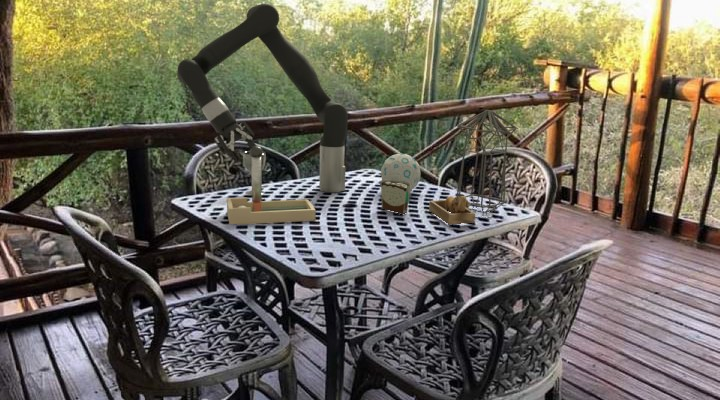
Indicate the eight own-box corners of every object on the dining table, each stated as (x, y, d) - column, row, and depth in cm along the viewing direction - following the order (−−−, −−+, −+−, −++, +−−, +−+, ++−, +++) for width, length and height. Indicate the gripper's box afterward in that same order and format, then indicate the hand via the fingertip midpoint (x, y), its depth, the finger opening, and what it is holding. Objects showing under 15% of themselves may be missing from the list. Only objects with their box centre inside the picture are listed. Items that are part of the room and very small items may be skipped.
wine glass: (241, 191, 217) (240, 151, 213) (262, 189, 220) (262, 150, 216) (247, 196, 210) (246, 155, 206) (268, 194, 213) (268, 154, 210)
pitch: (307, 209, 196) (307, 195, 194) (315, 220, 183) (315, 205, 182) (227, 213, 188) (226, 198, 187) (229, 224, 176) (229, 209, 175)
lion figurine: (471, 224, 185) (473, 196, 182) (456, 225, 183) (458, 198, 180) (448, 211, 198) (450, 186, 196) (434, 213, 196) (436, 187, 194)
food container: (418, 212, 196) (419, 183, 193) (406, 216, 191) (408, 186, 189) (390, 205, 204) (391, 177, 201) (378, 208, 199) (379, 180, 197)
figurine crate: (452, 211, 199) (453, 199, 198) (474, 225, 183) (475, 213, 182) (429, 212, 197) (429, 200, 196) (449, 226, 181) (450, 214, 180)
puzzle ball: (374, 194, 218) (375, 155, 214) (387, 186, 232) (389, 149, 228) (412, 199, 213) (415, 159, 209) (424, 190, 226) (426, 152, 222)
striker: (262, 208, 187) (261, 144, 182) (264, 212, 183) (263, 147, 177) (250, 209, 186) (248, 144, 181) (251, 213, 182) (250, 147, 176)
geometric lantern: (447, 213, 196) (454, 109, 187) (472, 205, 207) (480, 106, 198) (488, 224, 185) (498, 114, 176) (512, 214, 197) (522, 110, 188)
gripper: (209, 118, 183) (239, 160, 185) (238, 102, 193) (267, 143, 195) (198, 128, 188) (227, 169, 190) (227, 112, 198) (254, 151, 200)
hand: (247, 156), depth 193 cm, fingers open, 8 cm apart
